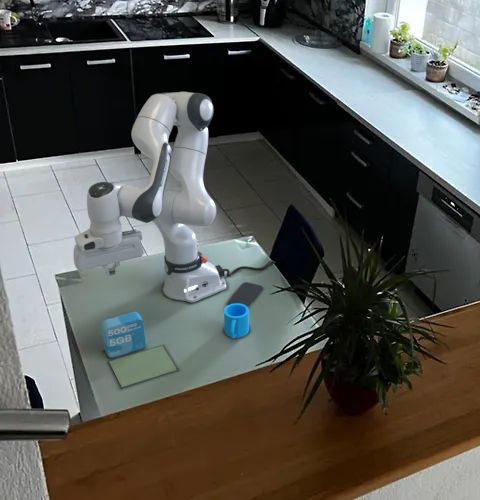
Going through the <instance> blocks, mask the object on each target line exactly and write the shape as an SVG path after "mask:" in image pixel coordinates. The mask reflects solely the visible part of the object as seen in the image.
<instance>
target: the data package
mask: <svg viewBox="0 0 480 500" xmlns="http://www.w3.org/2000/svg"><path fill="white" fill-rule="evenodd" d="M100 328H101V329H100V330H101V336H102V343H103V348H104V349H103V350H104V351H105V353H106V355H107V356H108V357H109V358H111V359H114V358H117V357H121V356H124V355H127V354H131V353H134V352H136V351H137V352H138V351H140V350H143V349H144V348H145V347H146V344H147V343H146V332H145V323H144V320H143V317H142V316H141V315H140V313H139V312H137V311H133V312H129V313H125V314H122V315H117V316H115V317H110V318H107V319H103V320H102V322H101V324H100Z"/></svg>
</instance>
